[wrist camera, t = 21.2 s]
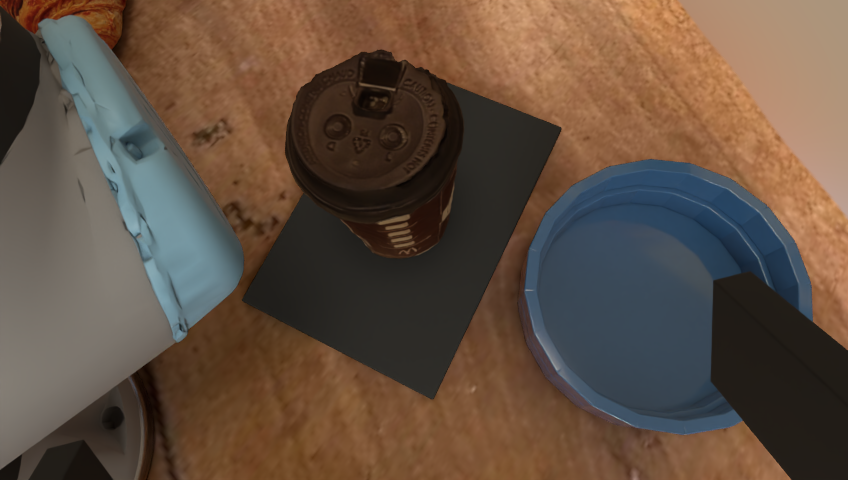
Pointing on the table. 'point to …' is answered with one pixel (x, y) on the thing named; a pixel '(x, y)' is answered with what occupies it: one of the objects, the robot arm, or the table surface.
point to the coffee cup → (378, 150)
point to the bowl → (647, 289)
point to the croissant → (93, 3)
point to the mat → (410, 258)
